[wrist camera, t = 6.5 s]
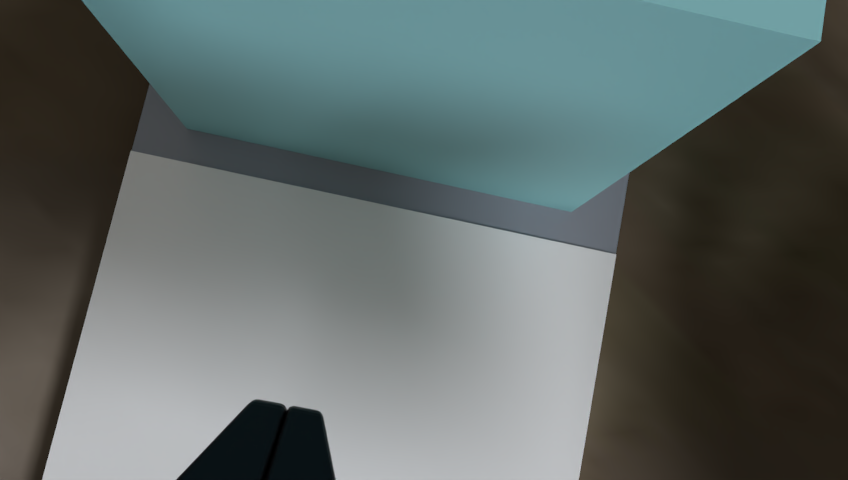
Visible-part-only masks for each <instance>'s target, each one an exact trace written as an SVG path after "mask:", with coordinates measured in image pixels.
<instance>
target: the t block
mask: <svg viewBox="0 0 848 480" xmlns="http://www.w3.org/2000/svg"><path fill="white" fill-rule="evenodd" d="M82 1H83V3H84V4H85V5H86V6H87V8H88V9H89V10H90V11H91V12H92V14H93V15H94V16H95V17H96V19H97V20H98V21H99V22H100V23H101V25H102V26H103V27H104V28H105V30H106V31H107V32H108V33H109V34H110V36H111V37H112V38H113V39H114V41H115V42H116V43H117V44H118V45H119V47H120V48H121V49H122V50H123V51H124V53H125V54H126V55H127V56H128V58H129V59H130V60H131V61H132V62H133V64H134V65H135V66H136V67H137V69H138V70H139V71H140V72H141V73H142V75H143V76H144V77H145V78H146V80H147V81H148V82H149V83H150V84H151V86H152V87H153V88H154V89H155V91H156V92H157V93H158V94H159V95H160V97H161V98H162V99H163V100H164V101H165V103H166V104H167V105H168V106H169V108H170V109H171V110H172V111H173V112H174V114H175V115H176V116H177V117H178V119H179V120H180V121H181V122H182V123H183V125H184V126H185V127H186V128H187V129H191V130H195V131H200V132H205V133H209V134H214V135H218V136H223V137H228V138H232V139H237V140H241V141H246V142H251V143H255V144H260V145H264V146H269V147H274V148H278V149H283V150H287V151H292V152H297V153H301V154H306V155H311V156H315V157H320V158H324V159H329V160H334V161H338V162H343V163H347V164H352V165H357V166H361V167H366V168H370V169H375V170H380V171H384V172H389V173H394V174H398V175H403V176H407V177H412V178H417V179H421V180H426V181H430V182H435V183H440V184H444V185H449V186H453V187H458V188H463V189H467V190H472V191H476V192H481V193H486V194H490V195H495V196H500V197H504V198H509V199H513V200H518V201H523V202H527V203H532V204H536V205H541V206H546V207H550V208H555V209H559V210H564V211H569V212H572V211H574V210H575V209H577V208H578V207H580V206H581V205H583V204H584V203H586V202H587V201H588V200H590V199H591V198H593V197H594V196H596V195H597V194H599V193H600V192H602V191H603V190H605V189H606V188H607V187H609V186H610V185H612V184H613V183H615V182H616V181H618V180H619V179H621V178H622V177H624V176H625V175H626V174H628V173H629V172H631V171H632V170H634V169H635V168H637V167H638V166H640V165H641V164H643V163H644V162H645V161H647V160H648V159H650V158H651V157H653V156H654V155H656V154H657V153H659V152H660V151H662V150H663V149H664V148H666V147H667V146H669V145H670V144H672V143H673V142H675V141H676V140H678V139H679V138H681V137H682V136H683V135H685V134H686V133H688V132H689V131H691V130H692V129H694V128H695V127H697V126H698V125H700V124H701V123H703V122H704V121H705V120H707V119H708V118H710V117H711V116H713V115H714V114H716V113H717V112H719V111H720V110H722V109H723V108H724V107H726V106H727V105H729V104H730V103H732V102H733V101H735V100H736V99H738V98H739V97H741V96H742V95H743V94H745V93H746V92H748V91H749V90H751V89H752V88H754V87H755V86H757V85H758V84H760V83H761V82H762V81H764V80H765V79H767V78H768V77H770V76H771V75H773V74H774V73H776V72H777V71H779V70H780V69H781V68H783V67H784V66H786V65H787V64H789V63H790V62H792V61H793V60H795V59H796V58H798V57H799V56H800V55H802V54H803V53H805V52H806V51H808V50H809V49H811V48H812V47H814V46H815V45H817V44H818V43H819V42H821V36H822V28H823V21H824V13H825V6H826V0H82Z"/></svg>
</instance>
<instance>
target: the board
mask: <svg viewBox="0 0 848 480" xmlns="http://www.w3.org/2000/svg"><path fill="white" fill-rule="evenodd" d="M628 178H629V173H628V174H626V175H625V176H624V177H622V178H621V179H619V180H618V181H616V182H615V183H613V184H612V185H610V186H609V187H607V188H606V189H605V190H603V191H602V192H600V193H599V194H597V195H596V196H594V197H593V198H591V199H590V200H588V201H587V202H586V203H584V204H583V205H581V206H580V207H578V208H577V209H575V210H574V211H572V212H569V211H564V210H559V209H555V208H550V207H546V206H541V205H536V204H532V203H527V202H523V201H518V200H513V199H509V198H504V197H500V196H495V195H490V194H486V193H481V192H476V191H472V190H467V189H463V188H458V187H453V186H449V185H444V184H440V183H435V182H430V181H426V180H421V179H417V178H412V177H407V176H403V175H398V174H394V173H389V172H384V171H380V170H375V169H370V168H366V167H361V166H357V165H352V164H347V163H343V162H338V161H334V160H329V159H324V158H320V157H315V156H311V155H306V154H301V153H297V152H292V151H287V150H283V149H278V148H274V147H269V146H264V145H260V144H255V143H251V142H246V141H241V140H237V139H232V138H228V137H223V136H218V135H214V134H209V133H205V132H200V131H195V130H191V129H187V128H186V127H185V126H184V125H183V123H182V122H181V121H180V120H179V119H178V117H177V116H176V115H175V114H174V112H173V111H172V110H171V109H170V108H169V106H168V105H167V104H166V103H165V101H164V100H163V99H162V98H161V97H160V95H159V94H158V93H157V92H156V91H155V89H154V88H153V87H152V86H151V84H149V88H148V91H147V95H146V99H145V103H144V106H143V110H142V114H141V117H140V121H139V125H138V129H137V132H136V136H135V140H134V143H133V147H132V151H130V155H129V159H128V162H127V166H126V170H125V173H124V177H123V181H122V185H121V188H120V192H119V196H118V199H117V203H116V207H115V211H114V214H113V218H112V222H111V225H110V229H109V233H108V237H107V240H106V244H105V248H104V251H103V255H102V259H101V263H100V266H99V270H98V274H97V277H96V281H95V285H94V289H93V292H92V296H91V300H90V303H89V307H88V311H87V315H86V318H85V322H84V326H83V329H82V333H81V337H80V341H79V344H78V348H77V352H76V355H75V359H74V363H73V366H72V370H71V374H70V378H69V381H68V385H67V389H66V392H65V396H64V400H63V404H62V407H61V411H60V415H59V418H58V422H57V426H56V430H55V433H54V437H53V441H52V444H51V448H50V452H49V456H48V459H47V463H46V467H45V470H44V474H43V478H42V480H176V479H177V478H178V477H179V476H180V475H181V474H182V473H183V472H184V471H185V470H186V469H187V468H188V466H189V465H190V464H191V463H192V462H193V461H194V460H195V459H196V458H197V457H198V456H199V455H200V454H201V453H202V452H203V451H204V450H205V449H206V448H207V447H208V445H209V444H210V443H211V442H212V441H213V440H214V439H215V438H216V437H217V436H218V435H219V434H220V433H221V432H222V431H223V430H224V429H225V428H226V427H227V425H228V424H229V423H230V422H231V421H232V420H233V419H234V418H235V417H236V416H237V415H238V414H239V413H240V412H241V411H242V410H243V409H244V408H245V407H246V405H247V404H249V403H250V402H251V401H253V400H255V399H260V400H265V401H271V402H276V403H281V404H283V405H285V406H286V408H287V409H288V408H289V407H291V406H298V407H303V408H308V409H314V410H318V411H320V412H321V413H322V415H323V417H324V422H325V427H326V432H327V437H328V443H329V448H330V453H331V458H332V463H333V468H334V473H335V478H336V480H579V475H580V469H581V463H582V457H583V451H584V445H585V439H586V433H587V427H588V421H589V415H590V409H591V403H592V397H593V391H594V385H595V379H596V373H597V367H598V361H599V355H600V349H601V343H602V337H603V331H604V325H605V320H606V314H607V308H608V302H609V296H610V290H611V284H612V278H613V272H614V266H615V260H616V250H617V244H618V238H619V232H620V226H621V220H622V214H623V208H624V202H625V196H626V190H627V184H628Z"/></svg>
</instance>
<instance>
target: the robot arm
mask: <svg viewBox="0 0 848 480" xmlns="http://www.w3.org/2000/svg"><path fill="white" fill-rule="evenodd" d="M176 480H336V478H335V473H334V468H333V463H332V458H331V453H330V448H329V443H328V437H327V432H326V427H325V422H324V417H323V415H322V413H321V412H320V411H318V410H314V409H308V408H303V407H298V406H291V407H289V408H288V409H287V408H286V406H285V405H283V404H281V403H276V402H271V401H265V400H260V399H255V400H253V401H251V402H250V403H249V404H247V405H246V407H245V408H244V409H243V410H242V411H241V412H240V413H239V414H238V415H237V416H236V417H235V418H234V419H233V420H232V421H231V422H230V423H229V424H228V425H227V427H226V428H225V429H224V430H223V431H222V432H221V433H220V434H219V435H218V436H217V437H216V438H215V439H214V440H213V441H212V442H211V443H210V444H209V445H208V447H207V448H206V449H205V450H204V451H203V452H202V453H201V454H200V455H199V456H198V457H197V458H196V459H195V460H194V461H193V462H192V463H191V464H190V465H189V466H188V468H187V469H186V470H185V471H184V472H183V473H182V474H181V475H180V476H179V477H178V478H177V479H176Z"/></svg>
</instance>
